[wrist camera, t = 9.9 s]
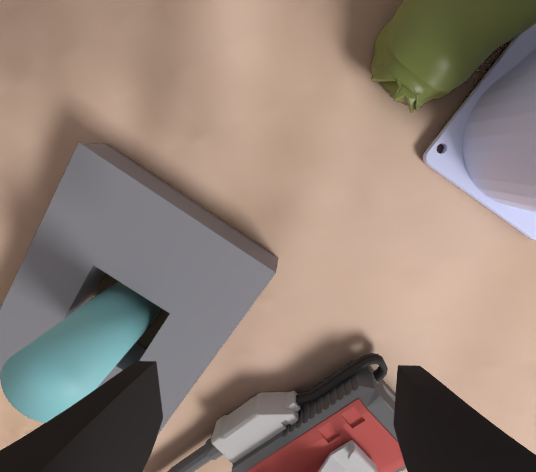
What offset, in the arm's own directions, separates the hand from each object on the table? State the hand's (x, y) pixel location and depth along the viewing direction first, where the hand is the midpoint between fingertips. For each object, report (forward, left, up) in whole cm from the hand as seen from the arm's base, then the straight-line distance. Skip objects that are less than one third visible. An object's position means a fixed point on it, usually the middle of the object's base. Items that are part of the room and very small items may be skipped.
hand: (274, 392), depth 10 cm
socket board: (+8, -7, -10) cm, 15 cm away
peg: (+7, -7, -10) cm, 15 cm away
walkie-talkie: (+11, +7, -11) cm, 17 cm away
